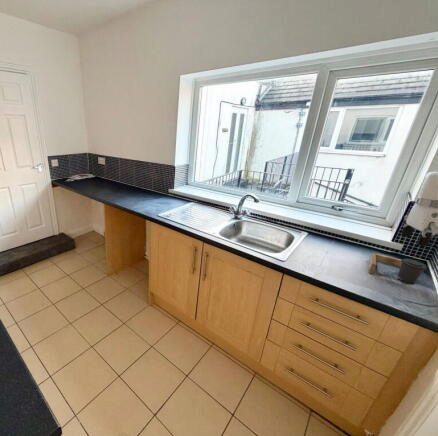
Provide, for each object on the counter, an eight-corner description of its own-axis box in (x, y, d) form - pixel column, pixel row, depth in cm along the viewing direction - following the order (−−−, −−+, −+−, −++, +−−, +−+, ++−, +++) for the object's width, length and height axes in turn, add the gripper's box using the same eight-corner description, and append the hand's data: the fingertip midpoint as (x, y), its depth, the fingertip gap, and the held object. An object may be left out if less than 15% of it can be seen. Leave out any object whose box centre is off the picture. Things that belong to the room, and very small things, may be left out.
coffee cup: (420, 282, 108) (431, 263, 104) (414, 288, 104) (425, 269, 100) (396, 273, 114) (405, 255, 110) (390, 278, 110) (399, 260, 106)
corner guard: (410, 271, 116) (414, 262, 114) (415, 285, 106) (419, 276, 104) (368, 260, 125) (371, 252, 124) (368, 272, 115) (372, 263, 113)
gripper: (460, 209, 90) (440, 250, 96) (424, 198, 106) (409, 234, 112) (434, 208, 92) (417, 248, 98) (403, 196, 108) (389, 232, 113)
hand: (413, 240), depth 105 cm, fingers open, 9 cm apart
